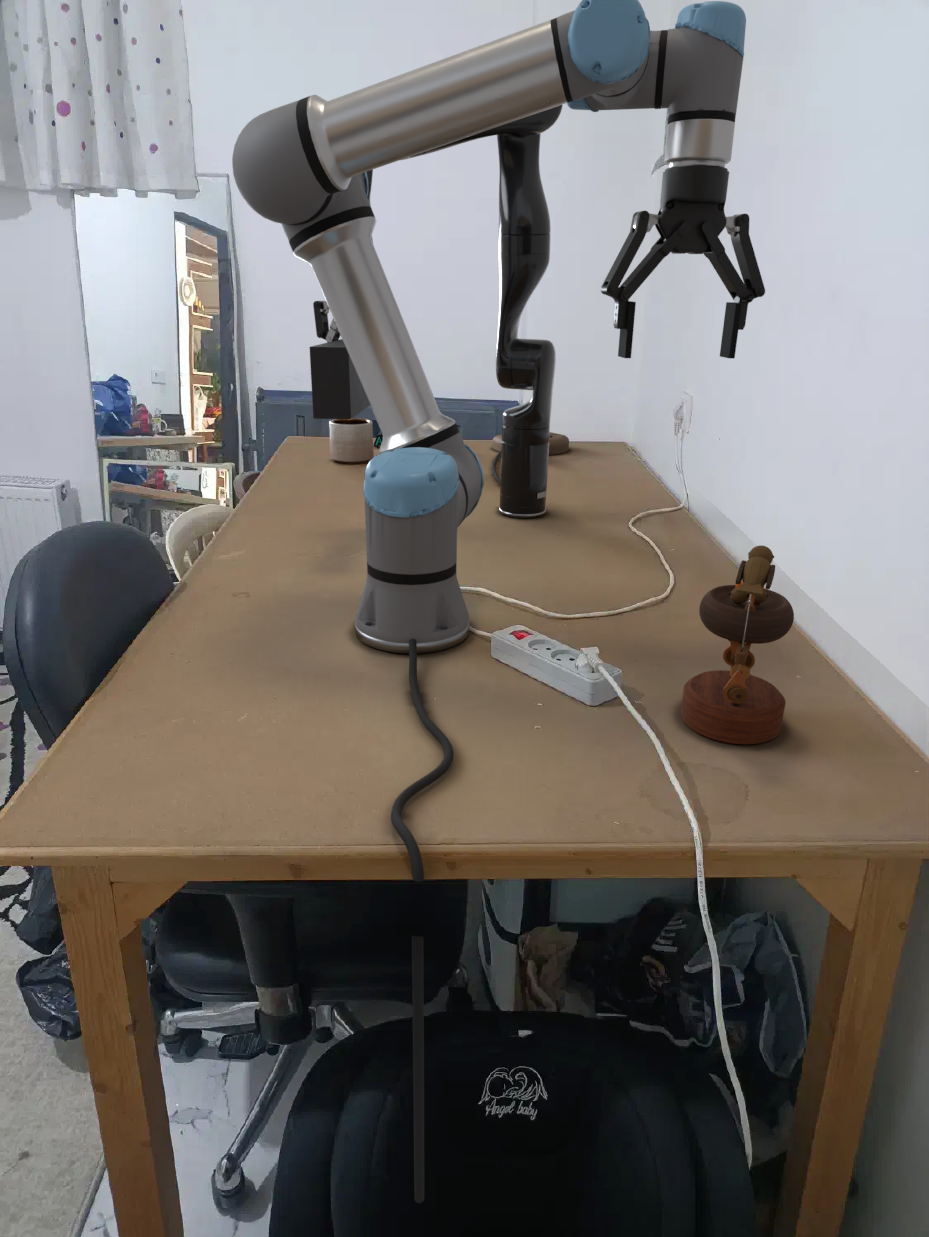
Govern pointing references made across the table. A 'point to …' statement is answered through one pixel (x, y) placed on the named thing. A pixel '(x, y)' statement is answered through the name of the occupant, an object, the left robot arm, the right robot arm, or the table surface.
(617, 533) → the table surface
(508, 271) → the right robot arm
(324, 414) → the box
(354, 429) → the planter
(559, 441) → the brown flat rounded piece
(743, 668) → the music box
